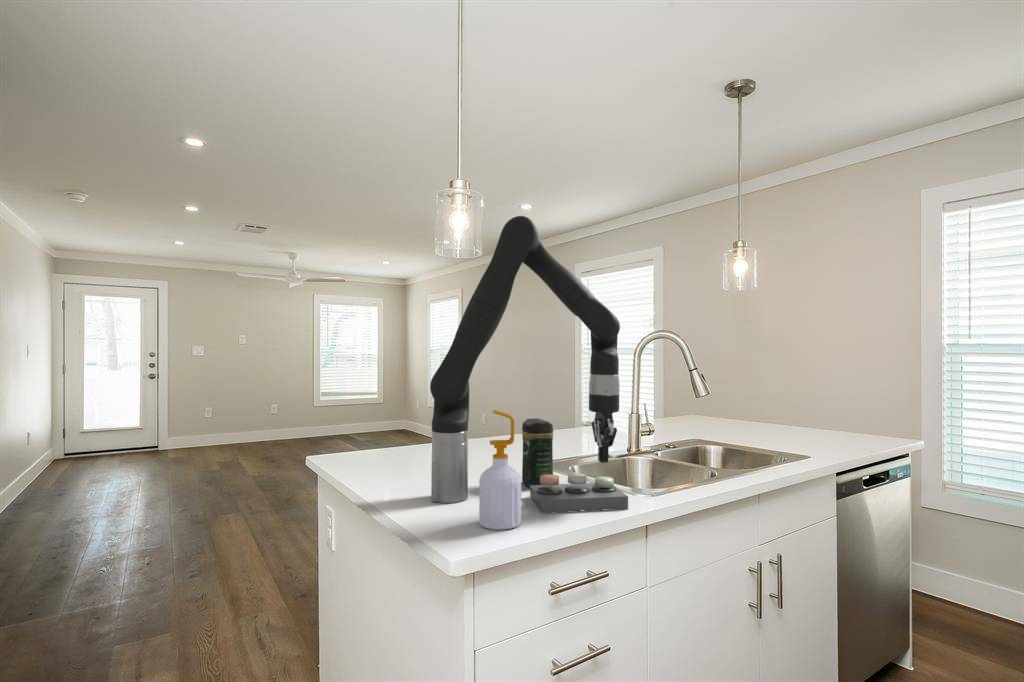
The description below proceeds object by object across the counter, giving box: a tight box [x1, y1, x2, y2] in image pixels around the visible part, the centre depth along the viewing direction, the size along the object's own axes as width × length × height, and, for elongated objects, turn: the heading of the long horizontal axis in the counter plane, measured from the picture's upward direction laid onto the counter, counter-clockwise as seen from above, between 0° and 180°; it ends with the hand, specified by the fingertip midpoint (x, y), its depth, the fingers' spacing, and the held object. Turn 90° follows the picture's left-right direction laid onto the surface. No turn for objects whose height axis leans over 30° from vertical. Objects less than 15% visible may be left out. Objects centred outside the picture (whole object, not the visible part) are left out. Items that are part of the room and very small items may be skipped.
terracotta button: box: [540, 474, 560, 486], centre depth 129 cm, size 5×5×2 cm
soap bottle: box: [478, 409, 522, 531], centre depth 114 cm, size 9×9×25 cm
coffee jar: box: [521, 418, 554, 488], centre depth 148 cm, size 10×8×19 cm
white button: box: [567, 473, 588, 484], centre depth 130 cm, size 5×5×2 cm
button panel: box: [529, 482, 629, 514], centre depth 130 cm, size 21×14×4 cm, turn 99°
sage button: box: [594, 476, 615, 487], centre depth 131 cm, size 5×5×2 cm
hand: (603, 461), depth 132 cm, fingers closed
